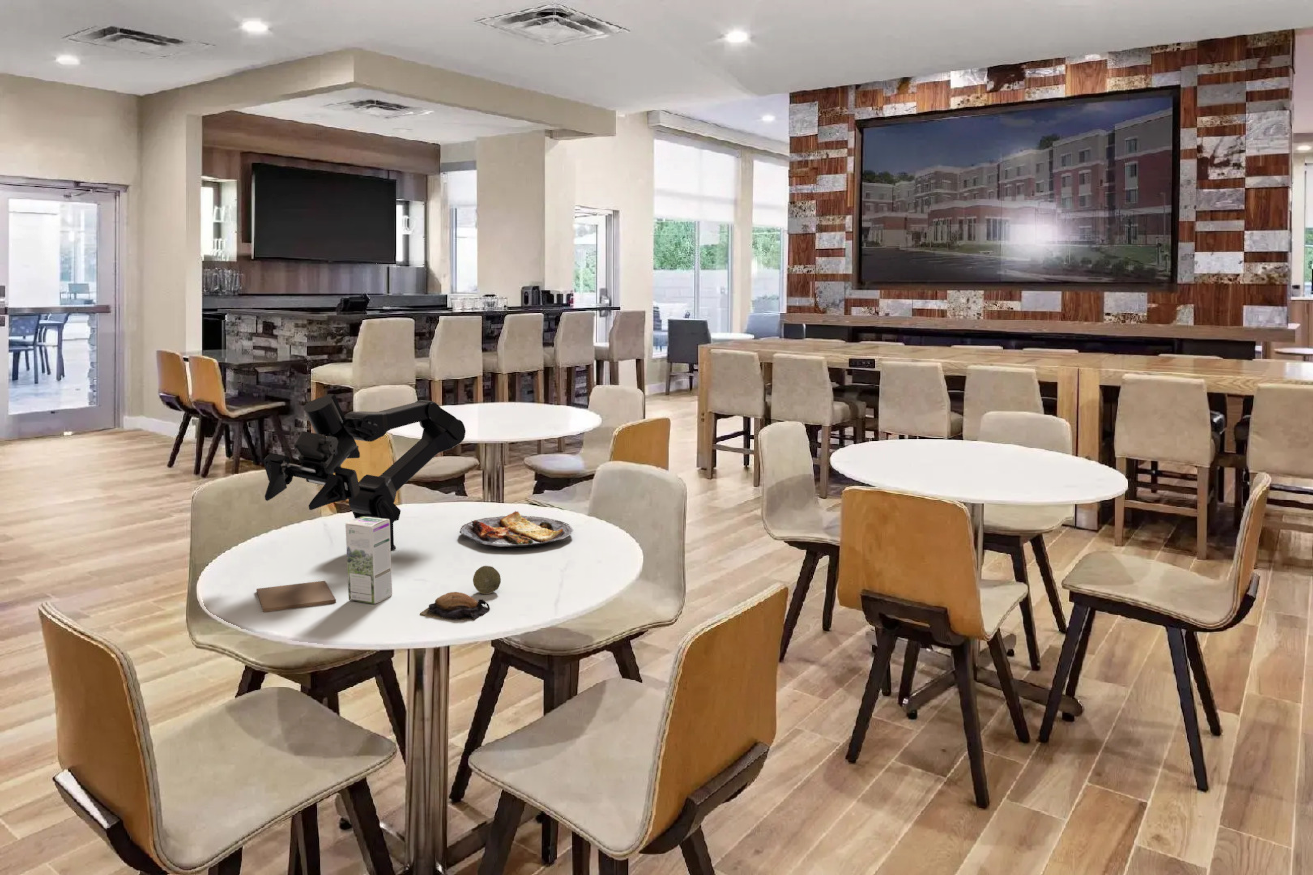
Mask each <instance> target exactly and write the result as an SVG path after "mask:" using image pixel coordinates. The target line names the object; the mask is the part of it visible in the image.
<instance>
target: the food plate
mask: <svg viewBox="0 0 1313 875" xmlns="http://www.w3.org/2000/svg"><path fill="white" fill-rule="evenodd" d="M459 533H460V534H461V535H463V536H465V537H467V538H469V539H470V540H473V541H475V543H476V544H481V545H486V546H492V547H493V546H494V547H501V548H503V547H504V548H526V547H533V546H537V545H544V544H547V543H552V542H555V541H559V540H564V539H566V538H567V537H569V536H571V535H572V534H573V533H574V529H573V527H572V525H570V524H568V523H566V522H564V521H561V520H557V519H554V518H549V517H543V516H533V515H528V516H527V515H522V514H520V512H519V511H516V510H515V511H513V512H512V513H508V514H507V515H501V516H495V517H484V518H480V519H479V518H478V519H473V520H471V521H470V522H467V523H464V524H463V525H461V527H460V529H459Z"/></svg>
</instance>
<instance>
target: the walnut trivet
mask: <svg viewBox="0 0 1313 875" xmlns="http://www.w3.org/2000/svg"><path fill="white" fill-rule="evenodd" d="M256 594H257V596H258V601H259V602H260V605H261V608H262V612H263V613H266V612H273V611H274V612H275V611H276V612H277V611H283V610H290V609H297V608H304V607H305V608H306V607H313V606H319V605H321V606H322V605H329V604H336V603H337V599H336V597H335V595H334V594H333V592H332V590H331V589H330V586H329V584H328V583H327V582H326V580H319V581H311V582H309V581H308V582H302V583H294V584H285V585H278V586H269V587H260V588H259V587H258V588H256Z"/></svg>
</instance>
